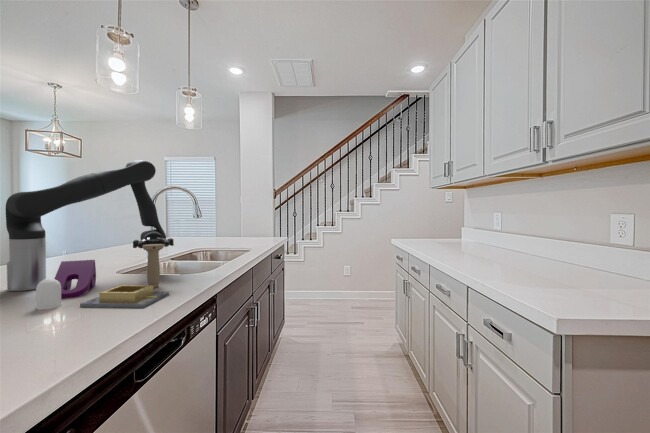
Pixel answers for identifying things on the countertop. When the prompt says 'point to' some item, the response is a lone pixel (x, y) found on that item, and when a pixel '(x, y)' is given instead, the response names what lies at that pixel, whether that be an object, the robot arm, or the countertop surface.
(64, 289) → the mounting bracket
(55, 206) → the robot arm
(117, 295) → the plate
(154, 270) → the handle
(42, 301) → the capsule
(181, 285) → the countertop surface
